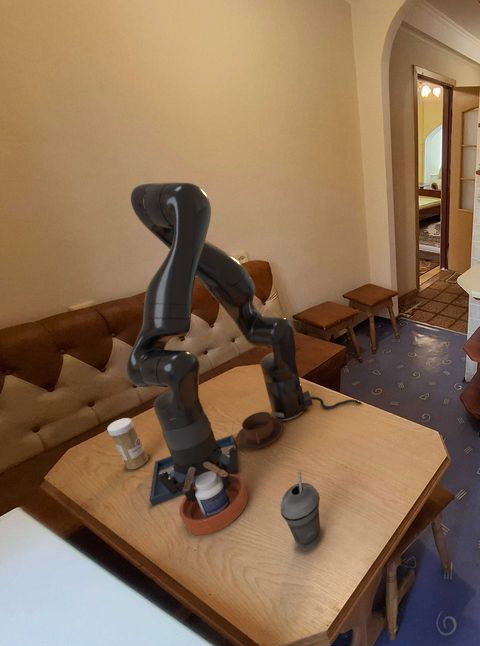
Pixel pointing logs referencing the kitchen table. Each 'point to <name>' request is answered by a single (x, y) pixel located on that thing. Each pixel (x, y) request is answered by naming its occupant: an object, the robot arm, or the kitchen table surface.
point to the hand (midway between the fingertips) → (211, 492)
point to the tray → (161, 492)
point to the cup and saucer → (259, 431)
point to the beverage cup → (302, 514)
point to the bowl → (203, 525)
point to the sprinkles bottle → (128, 443)
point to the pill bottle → (211, 494)
